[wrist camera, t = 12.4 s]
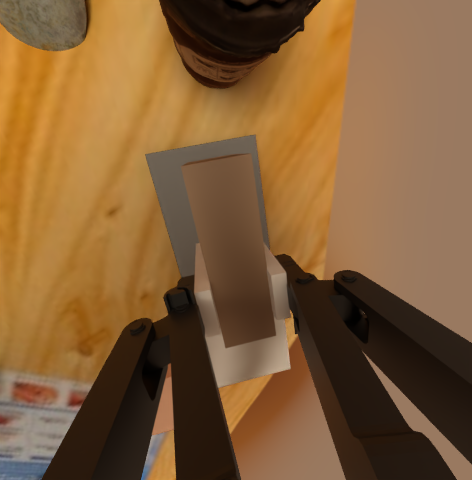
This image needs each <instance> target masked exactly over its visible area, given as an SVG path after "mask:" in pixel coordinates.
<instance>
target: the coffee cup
mask: <svg viewBox="0 0 472 480" xmlns="http://www.w3.org/2000/svg"><path fill="white" fill-rule="evenodd" d="M320 1H321V0H159V2H160V5H161V8H162V12H163V15H164V16H165V18H166V21H167V25H168V28H169V31H170V33H171V34H172V36H173V39H174V43H175V47H176V49H177V51H178V53H179V55H180V57H181V59H182V62H183V64H184V66H185V68H186V69H187V71H188V72H189V73H190V74H191V75H192V76H193V77H194V78H195V79H196V80H197V81H198V82H199V83H201V84H203V85H205V86H207V87H211V88H228V87H230V86H233V85H234V84H236V83H237V82H238V81H239V80H240V79H242V78H243V77H244V76H246V75H248V74H249V73H250V72H251V71H252V70H253V69H254V68H255V67H256V66H257V65H259V64H260V63H261V62H263V61H264V60H265V59H266V58H267V57H268V56H269V55H270V54H272V53H277V52H278V51H279V49H280V46H281V45H282V44H283V43H285V42H287V41H288V40H289V39H290V38H292V37H293V36H294V35H295V34H296V33H297V32H300V31H304V18H305V17H306V16H307V15H308V14H309V13H310V12H311V11H312V9H313V8H314V7H315V6H316V5H317V4H318V3H319V2H320Z"/></svg>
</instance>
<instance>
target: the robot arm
mask: <svg viewBox="0 0 472 480" xmlns="http://www.w3.org/2000/svg"><path fill="white" fill-rule="evenodd" d="M264 249H265V256H266V264H267V276H268V283H269V290H270V297H271V304H272V311H273V313H274V315H275V318H276V320H281V319H285V318H289V317H291V315H290V310H291V311H292V313H293V318H294V328H295V334H297V333H298V336H299V339H300V342H301V345H302V348H303V351H304V354H305V357H306V360H307V363H308V366H309V369H310V372H311V375H312V378H313V382H314V384H315V388H316V390H317V394H318V396H319V399H320V403H321V406H322V409H323V412H324V415H325V418H326V421H327V424H328V427H329V430H330V433H331V436H332V439H333V442H334V445H335V448H336V451H337V454H338V457H339V460H340V463H341V466H342V469H343V472H344V475H345V478H346V480H457V479H456V478H455V476H454V475H453V473H452V472H451V470H450V468H449V467H448V466H447V464H446V462H445V461H444V460H443V458H442V456H441V455H440V454H439V452H438V451H437V449H436V448H435V447H434V445H433V444H432V443H431V441H430V440H429V439H428V438H427V437H426V436H425V435H424V434H422V433H421V432H416V431H413V430H412V429H411V428H410V427H409V426H408V424H407V423H406V421H405V420H404V418H403V416H402V415H401V413H400V412H399V410H398V408H397V407H396V405H395V403H394V402H393V400H392V399H391V397H390V395H389V394H388V392H387V391H386V389H385V387H384V386H383V384H382V382H381V381H380V379H379V378H378V376H377V375H376V373H375V371H374V370H373V368H372V367H371V365H370V363H369V362H368V360H367V358H366V357H365V355H364V354H363V352H364V353H365V354H366V355H367V356H368V357H369V358H370V359H371V360H372V362H373V363H375V365H376V366H377V367H379V369H380V370H381V371H382V372H383V373H384V374H385V375H386V376H387V377H388V378H389V379H390V380H391V381H392V382H393V383H394V384H395V385H396V386H397V387H398V388H399V389H400V391H401V392H402V393H403V394H404V395H405V396H406V397H407V398H408V399H409V400H410V401H411V402H412V403H413V404H414V405H415V406H416V407H417V408H418V409H419V410H420V411H421V412H422V413H423V414H424V415H425V416H426V417H427V418H428V420H429V421H430V422H431V423H432V424H433V425H434V426H435V427H436V428H437V429H438V430H439V431H440V432H441V433H442V434H443V435H444V436H445V437H446V438H447V439H448V440H449V441H450V442H451V443H452V444H453V445H454V446H455V448H457V450H458V451H459V452H460V453H461V454H463V456H464V457H465V458H466V459H467V460H468V461H469V462H470V463H471V464H472V343H471V342H469V341H468V340H466V339H464V338H463V337H461V336H460V335H458V334H456V333H454V332H453V331H452V330H450V329H448V328H447V327H445V326H443V325H442V324H440V323H439V322H437V321H436V320H434V319H432V318H431V317H429V316H427V315H426V314H424V313H423V312H421V311H420V310H418V309H416V308H415V307H413V306H412V305H410V304H408V303H407V302H405V301H404V300H402V299H400V298H399V297H397V296H396V295H394V294H392V293H391V292H389V291H388V290H386V289H384V288H383V287H381V286H380V285H378V284H376V283H375V282H373V281H372V280H370V279H368V278H367V277H365V276H363V275H362V274H360V273H358V272H355V271H351V270H343V271H339V272H337V273H335V275H334V280H318V279H317V278H316V277H315V276H314V275H313V274H310V273H305V272H304V271H303V270H302V269H301V268H300V267H299V266H298V265H297V264H296V262H295V261H294V260H293V259H292V258H291V257H290V256H288V255H286V254H282V255H277V256H274V255H273V254H272V253H271V251H270V250H269V249H268V247H267V246H266V244H265V243H264ZM163 298H164V301H165V304H166V307H167V310H168V316H166V317H165V318H163V319H161V320H159V321H157V322H154V323H152V321H151V319H148V318H141V319H138V320H135V321H133V322H131V323H130V324H129V325H127V326H126V327H125V328H124V330H123V331H122V333H121V335H120V337H119V338H118V340H117V342H116V344H115V346H114V348H113V349H112V351H111V353H110V355H109V357H108V359H107V360H106V362H105V364H104V366H103V368H102V370H101V371H100V373H99V375H98V377H97V379H96V381H95V382H94V384H93V386H92V388H91V390H90V391H89V393H88V395H87V397H86V399H85V401H84V402H83V404H82V406H81V408H80V410H79V412H78V413H77V415H76V417H75V419H74V421H73V423H72V424H71V426H70V428H69V430H68V432H67V434H66V435H65V437H64V439H63V441H62V443H61V445H60V446H59V448H58V450H57V452H56V454H55V456H54V457H53V459H52V461H51V463H50V465H49V466H48V468H47V470H46V472H45V474H44V476H43V477H42V479H41V480H141V477H142V473H143V468H144V464H145V460H146V456H147V452H148V448H149V444H150V440H151V436H152V432H153V427H154V423H155V419H156V415H157V411H158V407H159V403H160V399H161V395H162V391H163V386H164V382H165V378H166V374H167V370H168V364H170V363H171V380H172V401H173V421H174V442H175V463H176V480H241V477H240V473H239V469H238V465H237V461H236V457H235V453H234V449H233V445H232V441H231V437H230V433H229V429H228V425H227V421H226V417H225V413H224V409H223V406H222V402H221V398H220V394H219V390H218V386H217V382H216V378H215V374H214V370H213V366H212V362H211V358H210V354H209V350H208V346H207V342H206V339H205V334H206V338H208V337H212V336H216V335H220V334H221V329H220V323H219V319H218V314H217V310H216V306H215V302H214V298H213V294H212V290H211V286H210V282H209V279H208V275H207V271H206V267H205V263H204V259H203V255H202V251H201V247H200V243H197V244H196V254H195V275H190V276H186V277H182V278H181V279H180V280H179V282H178V285H177V287H175V288H172V289H170V290H169V291H167V292H166V294H165V295H164V297H163ZM363 312H364V313H365V314H364V313H363ZM362 351H363V352H362Z"/></svg>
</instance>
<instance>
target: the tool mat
mask: <svg viewBox="0 0 472 480" xmlns="http://www.w3.org/2000/svg"><path fill="white" fill-rule="evenodd" d="M248 153H251V155H252V162H253V169H254V177H255V184H256V191H257V198H258V206H259V213H260V220H261V227H262V235H263V242H264V243H265V244H266V246H267V247H268V249H269V250H270V246H269V238H268V231H267V223H266V215H265V207H264V199H263V191H262V184H261V176H260V168H259V160H258V152H257V144H256V137H255V135H250V136H245V137H239V138H234V139H228V140H223V141H217V142H211V143H206V144H200V145H195V146H189V147H184V148H178V149H172V150H167V151H161V152H156V153H150V154H145V156H146V159H147V162H148V166H149V169H150V173H151V176H152V179H153V183H154V186H155V190H156V193H157V196H158V200H159V203H160V206H161V210H162V213H163V217H164V220H165V223H166V227H167V230H168V234H169V237H170V240H171V244H172V247H173V250H174V254H175V257H176V261H177V264H178V267H179V271H180V274H181V278H182V277H186V276H190V275H195V254H196V244H197V243H199V239H198V235H197V230H196V226H195V222H194V218H193V214H192V210H191V206H190V202H189V198H188V194H187V190H186V186H185V182H184V178H183V174H182V170H181V166H182V165H184V164H186V163H188V162H194V161H199V160H205V159H210V158H215V157H221V156H226V155H232V154H248Z"/></svg>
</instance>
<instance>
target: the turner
mask: <svg viewBox="0 0 472 480" xmlns="http://www.w3.org/2000/svg"><path fill="white" fill-rule="evenodd" d="M181 170H182V174H183V178H184V182H185V186H186V190H187V194H188V198H189V202H190V206H191V210H192V214H193V218H194V222H195V226H196V230H197V235H198V239H199V243H200V247H201V251H202V255H203V259H204V263H205V267H206V271H207V275H208V279H209V282H210V286H211V290H212V294H213V298H214V302H215V306H216V310H217V314H218V319H219V323H220V329H221V334H220V335H216V336H212V337H208V338H206V334H205V339H206V342H207V346H208V350H209V354H210V358H211V362H212V366H213V370H214V374H215V378H216V382H217V386H218V388H220V387H223V386H227V385H231V384H235V383H238V382H242V381H246V380H250V379H254V378H257V377H261V376H265V375H269V374H272V373H276V372H279V371H284V370H287V369H290V360H289V352H288V343H287V335H286V326H285V319H281V320H276V318H275V315H274V313H273V311H272V304H271V297H270V290H269V283H268V276H267V264H266V256H265V249H264V242H263V235H262V227H261V220H260V213H259V206H258V198H257V191H256V184H255V177H254V169H253V162H252V155H251V153H248V154H232V155H226V156H221V157H215V158H210V159H205V160H199V161H194V162H188V163H186V164H184V165H182V166H181Z"/></svg>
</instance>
